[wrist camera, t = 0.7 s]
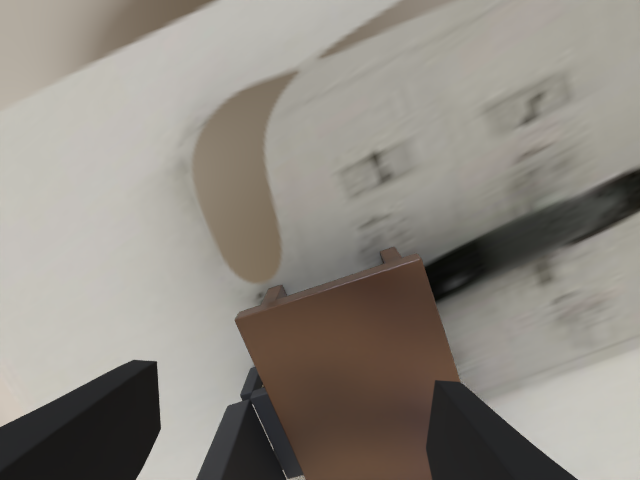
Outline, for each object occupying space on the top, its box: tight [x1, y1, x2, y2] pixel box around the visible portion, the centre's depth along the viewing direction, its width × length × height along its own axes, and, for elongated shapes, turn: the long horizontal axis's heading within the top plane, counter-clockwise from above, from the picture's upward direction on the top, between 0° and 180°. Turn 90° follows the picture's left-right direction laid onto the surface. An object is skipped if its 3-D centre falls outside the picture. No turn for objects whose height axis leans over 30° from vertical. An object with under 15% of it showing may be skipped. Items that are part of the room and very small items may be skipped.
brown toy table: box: [235, 247, 461, 480], centre depth 18 cm, size 14×8×4 cm, turn 20°
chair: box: [196, 367, 304, 480], centre depth 17 cm, size 5×6×8 cm
